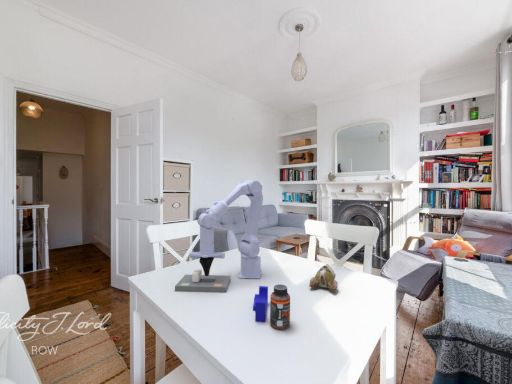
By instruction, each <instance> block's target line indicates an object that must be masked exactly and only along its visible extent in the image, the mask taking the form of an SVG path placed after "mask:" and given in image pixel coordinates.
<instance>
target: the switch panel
mask: <svg viewBox="0 0 512 384" xmlns="http://www.w3.org/2000/svg"><path fill="white" fill-rule="evenodd" d="M230 283H231V275H226V274H225V275H223V274H222V275H221V274H219V275H218V274H216V275H215V274H209V275H208V276H205V274H202V278H201V279H200V281H199V282H192V274H184V275H183V277H182V278H181V279H180V280H179V281H178V282H177V283H176V285H175V286H174V292H189V293H190V292H195V293H198V292H199V293H227V291H228V289H229V286H230Z"/></svg>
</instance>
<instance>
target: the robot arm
mask: <svg viewBox="0 0 512 384" xmlns="http://www.w3.org/2000/svg"><path fill="white" fill-rule="evenodd" d="M244 195H245V196H246V197H247V198H248V199H249V201H250V205H249V210H248V215H247V221H246V227H245V232H244V234H243V236H241V239H240V242H239V243H238V246H237V248H238V252H239V253H240V271H239V272H240V273H239V275H238V278H239V279H261V273H262V268H261V266H262V265H261V262H262V260H261V259H262V257H261V256H260V255H259V253H260V250H261V249H260V240H259V237H258V231H259V225H260V224H259V223H260V219H261V214H262V213H261V212H262V209H263V208H262V206H263V201H264V195H263V185H262V184H261V182H260V181H259V180H257V179H250V180H249V179H248V180H247V179H243V180H241V181H240V182H239V183H237V184H236V186H235V187H234V188H233V190H232V191H230V192H229V193H228V195H227V196H226V197H225V198H224V199H222V200H217V201H214V202H213V205H212V206H211V207H210V208H209V209H206V210H205V212H204V213H203V212H202V213H201V214H200V215H199V216H198V219H197V221H196V222H197V225H199V251H191V252H189V253H188V259H192V258H194V259H195V258H197V259H199V263H200V266H201V267H202V271H203V275H205V276H208V275H210V271H211V267H212V264H213V262H214V259H225V256H226V253H225V252H221V251H219V252H218V251H215V226H216V225H217V222H218V220H219V219H220V218H221V217H222V216H223V215H224V214H225V213H227V211H228V209H229V206H230V205H232V203H234V202H235V201H236V200H237V199H238V198H240V197H241V196H244Z"/></svg>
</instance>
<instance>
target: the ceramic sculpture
mask: <svg viewBox="0 0 512 384" xmlns="http://www.w3.org/2000/svg"><path fill="white" fill-rule="evenodd" d="M336 275H337V274H336V272H335V271H334V269H333V268H332V267H331V266H330V265H329V264H328V263H326V264H325V265H322V266H321V267H320V268H319V270H318V271H317V272H316V274H315V276H314V277H311V279H310V281H309V285H308V286H309V287H310V288H317V287H320V288H324V289H329V290H330V291H332V292H335V291H336V290H337V288H338V282H337V280H335V279H336Z"/></svg>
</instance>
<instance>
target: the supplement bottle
mask: <svg viewBox="0 0 512 384" xmlns="http://www.w3.org/2000/svg"><path fill="white" fill-rule="evenodd" d="M269 299H270V302H269V303H270V304H269V305H270V306H269V307H270V309H269V324H270V326H271V327H273V329H277V330H284V329H287V328H289V327H290V324H291V323H290V322H291V295H290V294H289V293H288V286H287V285H285V284H281V283H280V284H279V283H278V284H275V285H274V286H273V292H271V293H270V298H269Z"/></svg>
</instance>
